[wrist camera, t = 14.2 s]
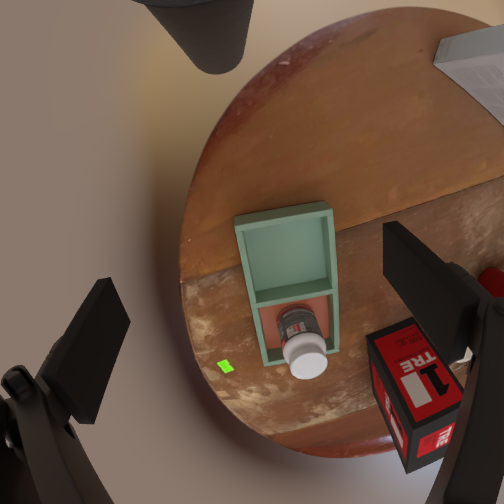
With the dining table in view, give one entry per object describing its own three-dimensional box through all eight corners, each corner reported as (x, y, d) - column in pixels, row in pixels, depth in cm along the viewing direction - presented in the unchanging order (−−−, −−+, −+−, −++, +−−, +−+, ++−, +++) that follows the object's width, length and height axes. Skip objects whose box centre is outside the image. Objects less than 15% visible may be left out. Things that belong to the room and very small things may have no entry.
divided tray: (234, 216, 40) (234, 226, 37) (324, 200, 40) (332, 208, 37) (262, 351, 50) (264, 366, 46) (333, 337, 49) (339, 351, 46)
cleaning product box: (412, 376, 56) (453, 452, 38) (373, 392, 56) (406, 474, 38) (412, 317, 49) (471, 401, 31) (365, 335, 50) (412, 430, 32)
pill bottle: (269, 314, 46) (277, 362, 37) (305, 296, 45) (321, 341, 36) (286, 340, 48) (297, 387, 39) (320, 323, 47) (337, 369, 38)
